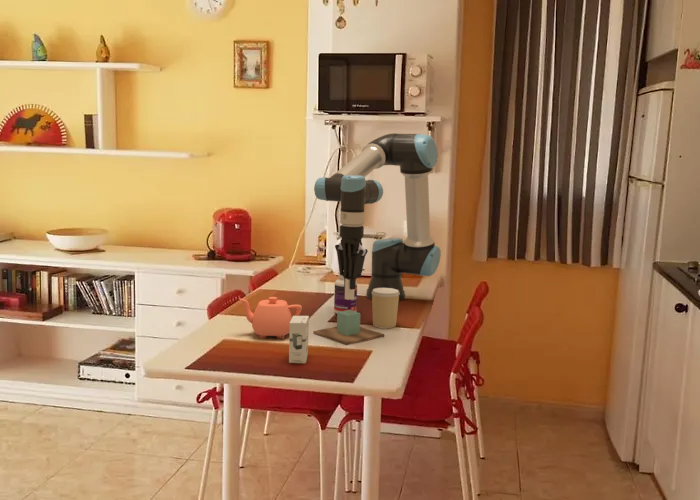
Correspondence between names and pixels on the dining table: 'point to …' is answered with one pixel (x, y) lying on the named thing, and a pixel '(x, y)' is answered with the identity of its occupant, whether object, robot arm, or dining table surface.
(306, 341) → the ink box
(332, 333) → the post stand
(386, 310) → the coffee cup
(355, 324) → the teal green block
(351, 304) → the pill bottle
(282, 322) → the teapot
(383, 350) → the dining table surface
